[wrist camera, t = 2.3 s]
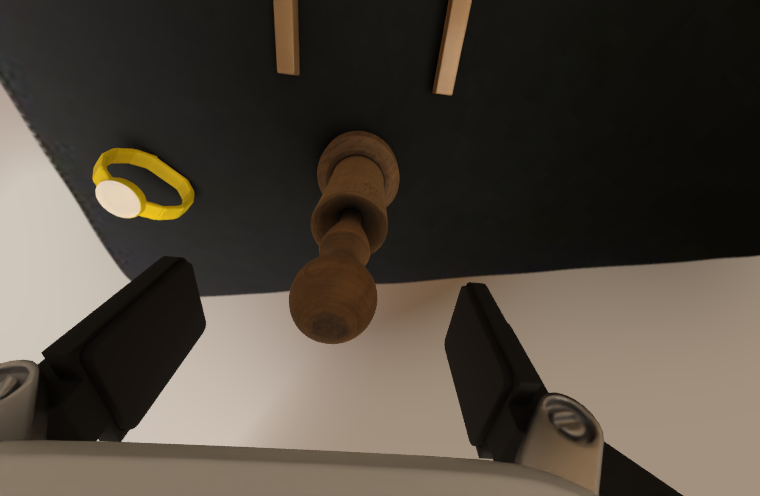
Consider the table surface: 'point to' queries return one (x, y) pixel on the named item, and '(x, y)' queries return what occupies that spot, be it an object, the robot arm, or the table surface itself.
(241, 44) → the table surface
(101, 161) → the watch
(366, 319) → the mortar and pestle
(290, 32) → the frame
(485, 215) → the table surface
